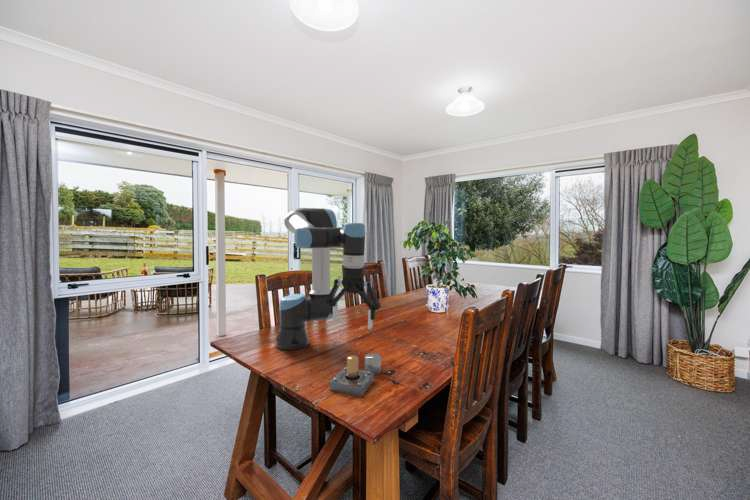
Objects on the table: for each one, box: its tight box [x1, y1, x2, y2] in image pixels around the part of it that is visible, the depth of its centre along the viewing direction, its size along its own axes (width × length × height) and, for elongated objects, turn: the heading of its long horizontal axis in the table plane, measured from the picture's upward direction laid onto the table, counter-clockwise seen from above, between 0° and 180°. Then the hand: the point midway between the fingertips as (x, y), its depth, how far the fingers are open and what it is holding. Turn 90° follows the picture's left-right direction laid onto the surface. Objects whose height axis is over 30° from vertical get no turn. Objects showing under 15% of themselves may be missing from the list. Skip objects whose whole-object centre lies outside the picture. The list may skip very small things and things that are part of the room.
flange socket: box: [329, 366, 375, 397], centre depth 114 cm, size 12×12×4 cm
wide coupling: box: [363, 352, 382, 376], centre depth 125 cm, size 6×6×6 cm
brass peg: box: [346, 354, 359, 380], centre depth 114 cm, size 4×4×10 cm
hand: (352, 325), depth 115 cm, fingers open, 13 cm apart
